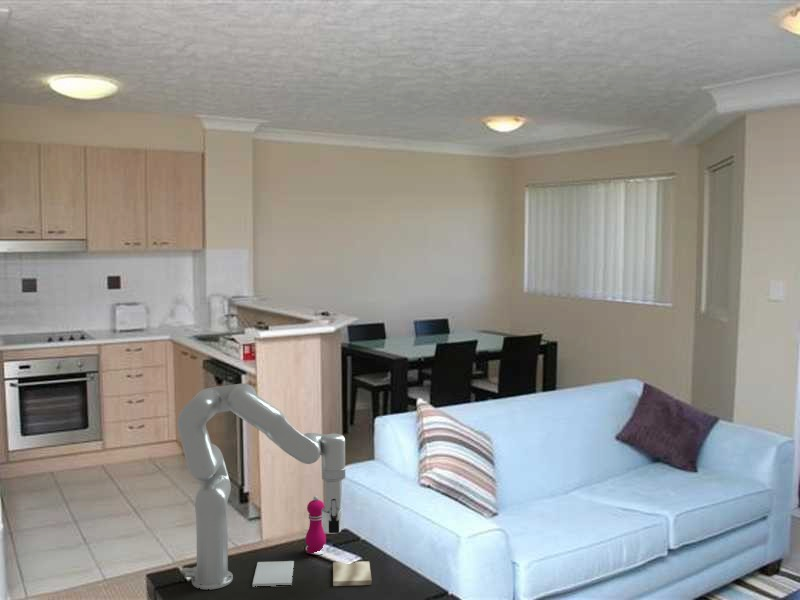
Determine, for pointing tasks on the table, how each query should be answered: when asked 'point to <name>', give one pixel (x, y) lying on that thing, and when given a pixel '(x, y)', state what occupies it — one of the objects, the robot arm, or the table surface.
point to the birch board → (351, 574)
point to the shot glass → (327, 517)
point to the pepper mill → (315, 526)
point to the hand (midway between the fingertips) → (333, 528)
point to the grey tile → (273, 573)
